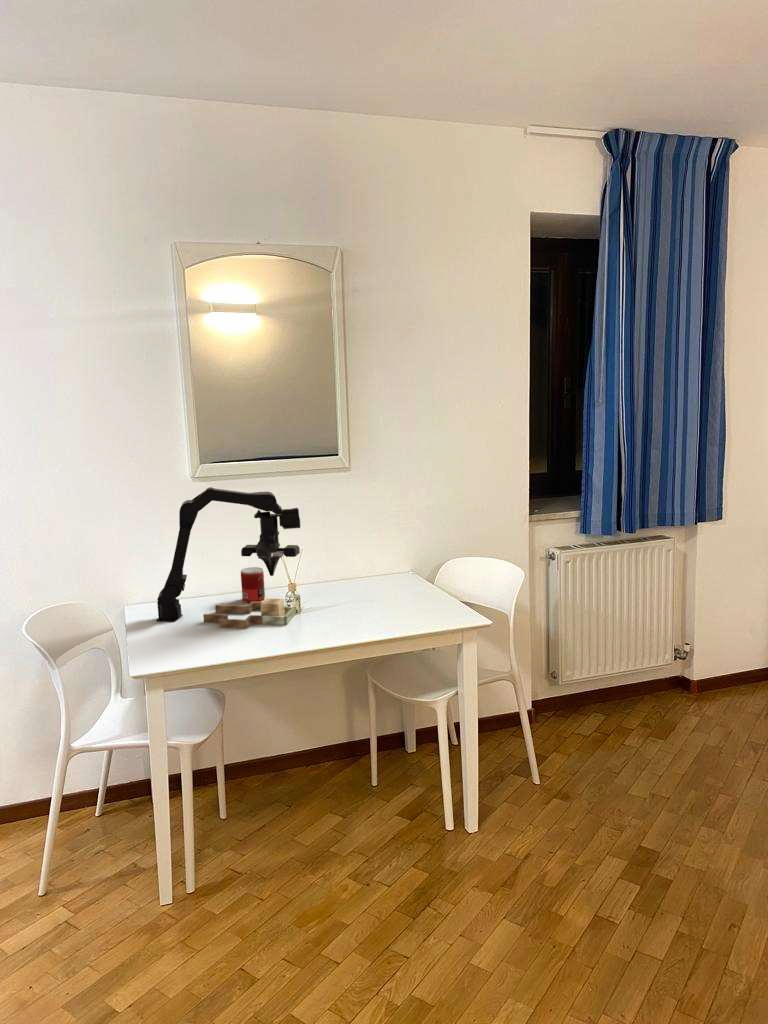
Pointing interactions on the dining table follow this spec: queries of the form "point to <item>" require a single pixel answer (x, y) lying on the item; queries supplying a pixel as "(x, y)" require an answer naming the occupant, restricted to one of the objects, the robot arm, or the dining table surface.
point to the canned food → (252, 584)
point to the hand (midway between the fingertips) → (272, 575)
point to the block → (272, 607)
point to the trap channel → (250, 620)
